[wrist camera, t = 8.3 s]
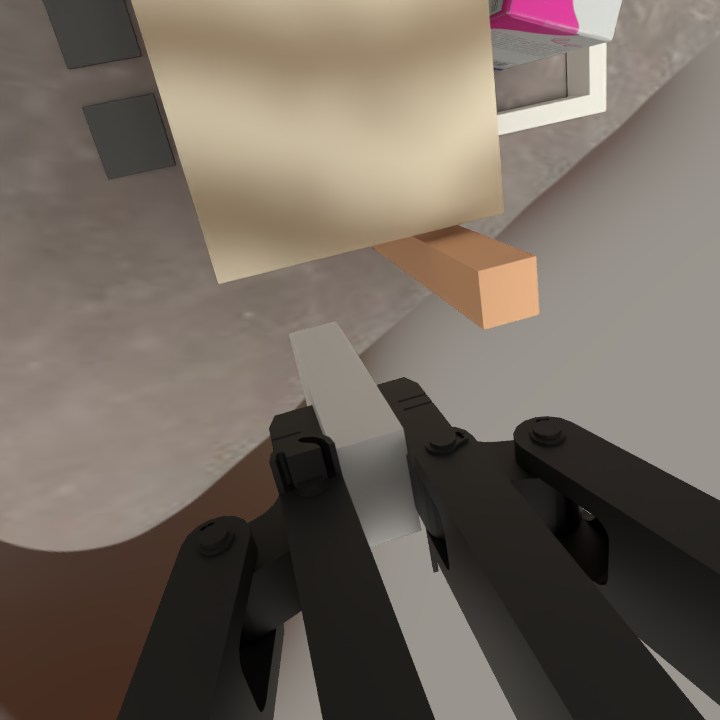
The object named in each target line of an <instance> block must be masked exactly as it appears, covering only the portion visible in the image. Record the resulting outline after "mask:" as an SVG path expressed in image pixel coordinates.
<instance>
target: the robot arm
mask: <svg viewBox="0 0 720 720" xmlns="http://www.w3.org/2000/svg"><path fill="white" fill-rule="evenodd" d="M289 337H290V341H291V345H292V349H293V352H294V356H295V360H296V364H297V368H298V371H299V375H300V379H301V383H302V387H303V391H304V394H305V398H306V402H307V407H303V408H300V409H296V410H293V411H289V412H286V413H283V414H279V415H276V416H275V417H274V419H273V421H272V423H271V425H270V427H269V431H270V436H271V440H272V446H273V452H272V453H271V455H270V461H269V463H270V467H271V470H272V473H273V476H274V479H275V483H276V486H277V489H278V492H279V497H278V499H277V500H276V502H275V503H274V505H273V506H272V507H271V508H270V509H269V510H268V511H267V512H265V513H264V514H263V515H261V516H260V517H258V518H256V519H254V520H253V521H251V522H249V523H246V521H245V520H244V519H241V518H239V517H236V516H222V517H218V518H215V519H211V520H209V521H207V522H205V523H203V524H201V525H200V526H198V527H197V528H195V529H194V530H193V531H192V532H191V533H190V534H189V535H188V536H187V537H186V539H185V541H184V542H183V544H182V546H181V548H180V551H179V553H178V556H177V559H176V561H175V564H174V567H173V570H172V572H171V575H170V578H169V580H168V583H167V586H166V588H165V591H164V594H163V596H162V599H161V602H160V604H159V607H158V610H157V613H156V615H155V618H154V621H153V623H152V626H151V629H150V631H149V634H148V637H147V639H146V642H145V645H144V647H143V651H142V653H141V656H140V658H139V661H138V664H137V667H136V669H135V672H134V675H133V677H132V680H131V682H130V685H129V688H128V690H127V693H126V696H125V698H124V701H123V704H122V706H121V710H120V712H119V715H118V717H117V720H273V717H274V709H275V701H276V693H277V685H278V676H279V669H280V661H281V653H282V645H283V636H284V624H283V623H284V622H286V621H287V620H289V619H290V618H292V617H293V616H294V615H296V614H297V613H299V612H300V611H302V614H303V620H304V624H305V630H306V635H307V640H308V645H309V650H310V656H311V661H312V666H313V671H314V677H315V682H316V686H317V692H318V697H319V702H320V707H321V713H322V718H323V720H435V718H434V716H433V713H432V710H431V708H430V705H429V702H428V700H427V697H426V694H425V692H424V689H423V687H422V684H421V681H420V679H419V676H418V674H417V671H416V668H415V665H414V663H413V660H412V658H411V655H410V652H409V650H408V647H407V644H406V642H405V639H404V636H403V634H402V631H401V629H400V626H399V623H398V621H397V618H396V615H395V613H394V610H393V607H392V605H391V602H390V599H389V597H388V594H387V592H386V589H385V586H384V584H383V581H382V578H381V576H380V573H379V570H378V568H377V565H376V562H375V560H374V557H373V554H372V552H371V549H370V547H373V546H376V545H379V544H382V543H385V542H388V541H390V540H394V539H397V538H400V537H402V536H406V535H409V534H412V533H415V532H418V531H421V526H420V520H419V515H420V517H421V519H422V521H423V523H424V525H425V527H426V532H427V538H428V544H429V550H430V555H431V561H432V567H433V571H434V572H437V571H438V564H439V567H440V569H441V571H442V573H443V574H444V576H445V578H446V580H447V582H448V584H449V586H450V588H451V590H452V592H453V594H454V596H455V598H456V600H457V602H458V604H459V606H460V608H461V610H462V612H463V614H464V616H465V618H466V620H467V622H468V624H469V626H470V628H471V630H472V632H473V633H474V635H475V638H476V639H477V641H478V643H479V645H480V647H481V649H482V651H483V653H484V655H485V657H486V659H487V661H488V663H489V665H490V667H491V669H492V671H493V673H494V675H495V677H496V679H497V681H498V683H499V685H500V687H501V689H502V690H503V693H504V695H505V697H506V698H507V700H508V702H509V704H510V706H511V708H512V710H513V712H514V714H515V716H516V718H517V720H705V719H704V718H703V716H702V715H701V714H700V713H699V711H698V710H697V709H696V708H695V707H694V705H693V704H692V703H691V702H690V701H689V699H688V698H687V697H686V696H685V694H684V693H683V692H682V691H681V690H680V688H679V687H678V686H677V685H676V683H675V682H674V681H673V680H672V679H671V677H670V676H669V675H668V674H667V672H666V671H665V670H664V669H663V668H662V666H661V665H660V664H659V663H658V661H657V660H656V659H655V658H654V656H653V655H652V654H651V653H650V652H649V650H648V649H647V648H646V647H645V646H644V644H643V643H642V642H641V641H640V639H641V640H642V641H643V642H644V643H645V644H647V645H648V646H649V647H650V648H652V649H653V650H654V651H655V652H656V653H658V654H659V655H660V656H661V657H662V658H663V659H665V660H666V661H667V662H668V663H669V664H671V665H672V666H673V667H674V668H675V669H677V670H678V671H679V672H680V673H681V674H683V675H684V676H685V677H686V678H687V679H689V680H690V681H691V682H692V683H693V684H695V685H696V686H697V687H698V688H699V689H700V690H702V691H703V692H704V693H705V694H706V695H708V696H709V697H710V698H711V699H712V700H714V701H715V702H716V703H717V704H719V705H720V500H718V499H716V498H714V497H712V496H710V495H708V494H706V493H705V492H702V491H701V490H699V489H697V488H695V487H693V486H691V485H689V484H688V483H686V482H684V481H682V480H680V479H678V478H676V477H674V476H672V475H671V474H669V473H666V472H665V471H663V470H661V469H659V468H657V467H655V466H654V465H652V464H650V463H648V462H646V461H644V460H642V459H640V458H638V457H637V456H635V455H633V454H631V453H629V452H627V451H625V450H623V449H621V448H620V447H617V446H615V445H614V444H612V443H610V442H608V441H606V440H604V439H603V438H601V437H599V436H597V435H595V434H593V433H591V432H589V431H587V430H586V429H584V428H582V427H580V426H578V425H576V424H574V423H572V422H570V421H567V420H565V419H562V418H557V417H549V416H546V417H535V418H532V419H529V420H526V421H524V422H522V423H521V424H520V425H518V426H517V427H516V429H515V431H514V434H513V435H514V440H511V441H500V442H478V441H477V440H476V439H475V438H474V437H473V436H472V435H471V434H470V433H468V432H467V431H466V430H463V429H460V428H457V427H452V426H451V425H450V424H449V422H448V421H447V420H446V419H445V417H444V416H443V415H442V413H441V412H440V411H439V410H438V408H437V407H436V406H435V405H434V403H432V401H431V400H430V398H429V397H428V396H427V395H426V393H425V392H424V391H423V389H422V388H421V387H420V385H419V384H418V383H416V382H414V381H412V380H409V379H407V378H405V377H403V378H399V379H396V380H392V381H389V382H386V383H382V384H378V385H376V384H375V382H374V381H373V379H372V377H371V376H370V374H369V373H368V371H367V369H366V368H365V366H364V365H363V363H362V361H361V360H360V358H359V357H358V355H357V353H356V352H355V350H354V349H353V347H352V345H351V344H350V342H349V341H348V339H347V337H346V336H345V334H344V333H343V331H342V329H341V328H340V326H339V324H338V323H337V321H334V322H330V323H326V324H323V325H319V326H315V327H311V328H308V329H304V330H300V331H296V332H293V333H289ZM582 508H584V509H585V510H586V511H585V510H584V509H582ZM587 511H588V512H589V513H591V514H589V513H588V512H587ZM437 563H438V564H437ZM639 638H640V639H639Z"/></svg>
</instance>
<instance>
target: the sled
mask: <svg viewBox="0 0 720 720" xmlns="http://www.w3.org/2000/svg"><path fill="white" fill-rule="evenodd" d="M567 88H568V97H565V98H560V99H556V100H551V101H547V102H542V103H537V104H533V105H528V106H524V107H519V108H515V109H510V110H505V111H501V112H497V123H498V135H502V134H506V133H511V132H515V131H520V130H524V129H529V128H533V127H538V126H542V125H546V124H551V123H555V122H560V121H564V120H569V119H573V118H577V117H582V116H586V115H591V114H595V113H600V112H604V111H606V43H602V44H598V45H594V46H590V47H586V48H582V49H579V50H575V51H571V52H568V53H567ZM371 247H372V248H374V249H375V250H377V251H378V252H379V253H381V254H382V255H383V256H385V257H386V258H387V259H389V260H390V261H391V262H393V263H394V264H395V265H397V266H398V267H400V268H401V269H402V270H404V271H405V272H406V273H408V274H409V275H410V276H412V277H413V278H414V279H416V280H417V281H418V282H420V283H421V284H423V285H424V286H425V287H427V288H428V289H429V290H431V291H432V292H433V293H435V294H436V295H437V296H439V297H440V298H441V299H443V300H444V301H446V302H447V303H448V304H450V305H451V306H452V307H454V308H455V309H456V310H458V311H459V312H460V313H462V314H463V315H465V316H466V317H467V318H469V319H470V320H471V321H473V322H474V323H475V324H477V325H478V326H479V327H481V328H482V329H483V330H484V329H488V328H492V327H496V326H499V325H503V324H506V323H510V322H513V321H517V320H521V319H524V318H528V317H531V316H535V315H539V299H538V279H537V261H536V256H535V255H532V254H530V253H527V252H525V251H522V250H520V249H517V248H515V247H512V246H509V245H507V244H504V243H501V242H499V241H497V240H494V239H492V238H489V237H487V236H484V235H481V234H479V233H476V232H474V231H471V230H469V229H466V228H464V227H461V226H458V225H455V226H451V227H447V228H443V229H439V230H435V231H430V232H426V233H422V234H418V235H414V236H410V237H406V238H402V239H398V240H394V241H390V242H386V243H382V244H378V245H374V246H371Z"/></svg>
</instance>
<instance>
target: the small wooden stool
mask: <svg viewBox="0 0 720 720" xmlns="http://www.w3.org/2000/svg"><path fill="white" fill-rule="evenodd" d="M131 1H132V5H133V8H134V11H135V14H136V18H137V21H138V24H139V27H140V31H141V34H142V37H143V40H144V44H145V47H146V50H147V53H148V57H149V60H150V63H151V66H152V70H153V73H154V76H155V79H156V83H157V86H158V89H159V92H160V96H161V99H162V102H163V105H164V109H165V112H166V115H167V118H168V122H169V125H170V128H171V131H172V135H173V138H174V141H175V144H176V148H177V151H178V154H179V157H180V161H181V164H182V167H183V170H184V174H185V177H186V180H187V184H188V187H189V190H190V193H191V197H192V200H193V203H194V206H195V210H196V213H197V216H198V219H199V223H200V226H201V229H202V232H203V236H204V239H205V242H206V245H207V249H208V252H209V255H210V258H211V262H212V265H213V268H214V271H215V275H216V278H217V281H218V284H221V283H225V282H229V281H233V280H237V279H241V278H245V277H249V276H253V275H257V274H261V273H265V272H269V271H273V270H277V269H281V268H285V267H289V266H293V265H297V264H301V263H306V262H310V261H314V260H318V259H322V258H326V257H330V256H334V255H338V254H342V253H346V252H350V251H354V250H358V249H362V248H366V247H370V246H374V245H378V244H382V243H386V242H390V241H394V240H398V239H402V238H406V237H410V236H414V235H418V234H422V233H426V232H430V231H435V230H439V229H443V228H447V227H451V226H455V225H459V224H463V223H467V222H471V221H475V220H479V219H483V218H487V217H491V216H495V215H499V214H503V213H504V203H503V190H502V177H501V163H500V150H499V137H498V123H497V110H496V96H495V83H494V70H493V56H492V43H491V29H490V16H489V3H488V0H131Z"/></svg>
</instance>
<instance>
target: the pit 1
mask: <svg viewBox="0 0 720 720" xmlns="http://www.w3.org/2000/svg"><path fill="white" fill-rule="evenodd" d="M43 2H44V5H45V7H46V10H47V13H48V16H49V18H50V21H51V24H52V26H53V29H54V32H55V35H56V37H57V40H58V43H59V46H60V48H61V51H62V54H63V57H64V59H65V62H66V65H67V68H68V69H74V68H79V67H85V66H90V65H96V64H101V63H107V62H112V61H117V60H123V59H128V58H134V57H139V56H141V53H140V49H139V46H138V43H137V40H136V37H135V33H134V30H133V27H132V24H131V21H130V17H129V14H128V11H127V8H126V5H125V1H124V0H43Z"/></svg>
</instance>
